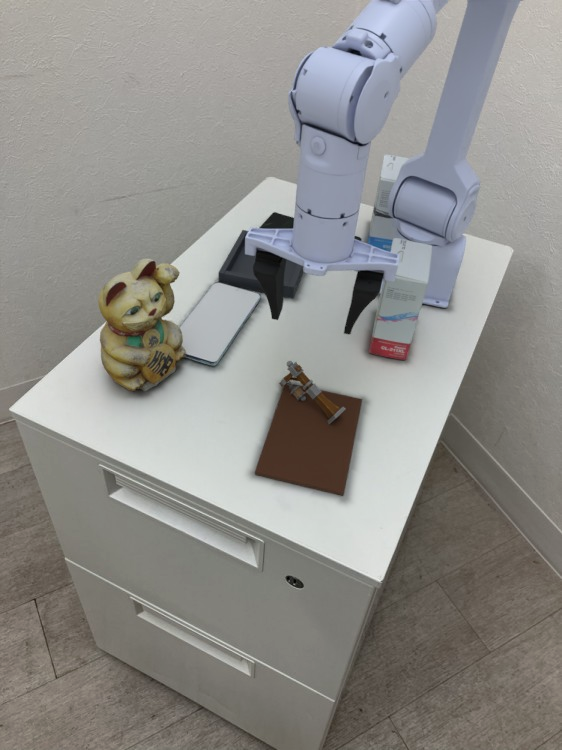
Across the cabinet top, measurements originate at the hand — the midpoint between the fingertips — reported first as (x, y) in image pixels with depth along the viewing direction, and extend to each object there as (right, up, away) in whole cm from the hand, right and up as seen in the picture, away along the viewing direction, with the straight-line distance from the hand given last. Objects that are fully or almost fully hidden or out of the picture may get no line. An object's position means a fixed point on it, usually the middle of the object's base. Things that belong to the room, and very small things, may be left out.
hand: (312, 320), depth 60 cm
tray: (-5, +10, +22) cm, 25 cm away
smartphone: (-12, +1, +13) cm, 17 cm away
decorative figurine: (-20, -5, +6) cm, 21 cm away
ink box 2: (+11, -1, +14) cm, 17 cm away
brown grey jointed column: (0, -9, +3) cm, 10 cm away
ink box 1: (+13, +15, +30) cm, 36 cm away
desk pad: (0, -12, +1) cm, 12 cm away
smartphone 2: (+1, +15, +28) cm, 32 cm away
